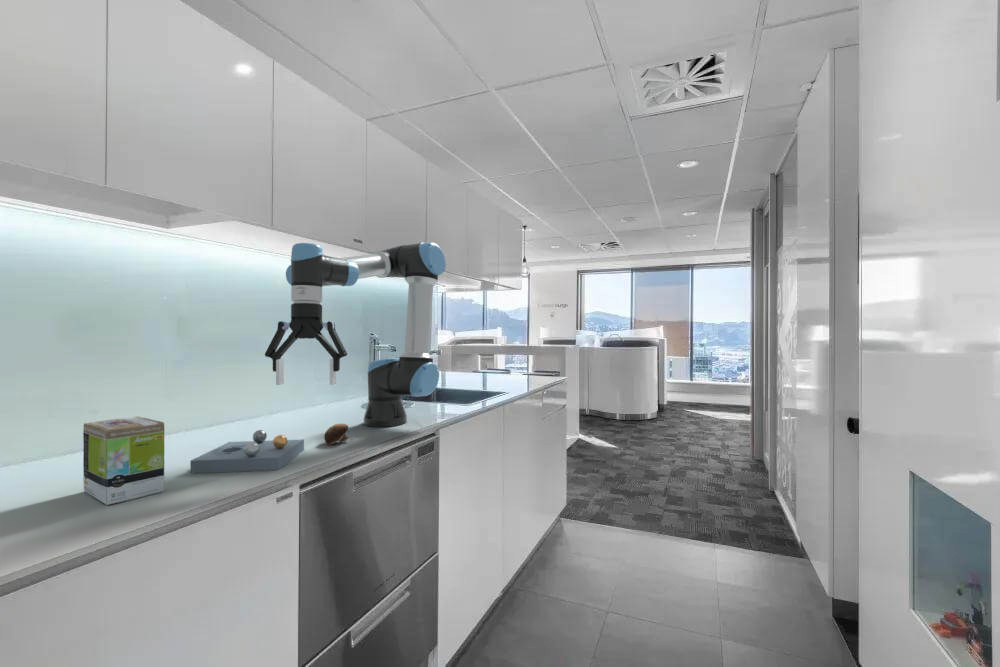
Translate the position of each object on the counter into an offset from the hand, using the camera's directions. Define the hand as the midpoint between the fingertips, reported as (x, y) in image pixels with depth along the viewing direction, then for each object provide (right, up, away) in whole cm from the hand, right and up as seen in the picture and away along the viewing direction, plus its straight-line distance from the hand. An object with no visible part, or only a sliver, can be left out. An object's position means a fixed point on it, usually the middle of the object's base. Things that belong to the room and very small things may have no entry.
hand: (306, 384), depth 117 cm
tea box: (-28, -20, -23) cm, 42 cm away
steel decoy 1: (-10, -15, -8) cm, 20 cm away
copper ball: (-7, -15, -1) cm, 16 cm away
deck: (-13, -20, -1) cm, 24 cm away
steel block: (-15, -15, +5) cm, 22 cm away
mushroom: (+2, -20, +16) cm, 26 cm away
